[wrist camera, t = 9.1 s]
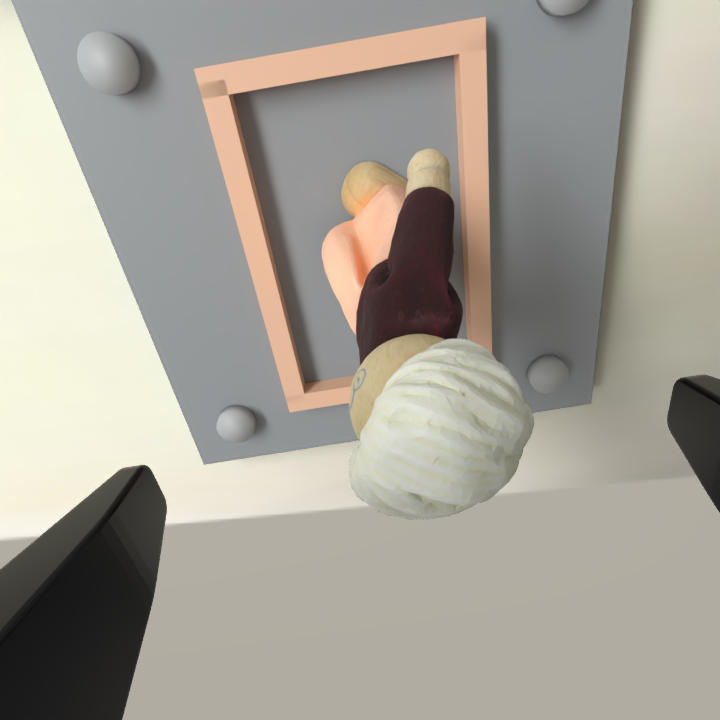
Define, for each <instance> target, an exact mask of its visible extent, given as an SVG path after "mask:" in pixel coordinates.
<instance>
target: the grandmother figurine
mask: <svg viewBox="0 0 720 720" xmlns="http://www.w3.org/2000/svg"><path fill="white" fill-rule="evenodd" d="M407 178H408V181H407V180H406V179H404V178H403V177H401V176H399V175H398V174H396V173H394V172H393V171H391V170H390V169H388V168H386V167H384V166H383V165H381V164H378V163H376V162H371V161H368V162H362V163H359V164H357V165H355V166H354V167H353V168H352V169H351V170H350V171H349V172H348V174H347V175H346V177H345V180H344V183H343V186H342V189H341V199H342V203H343V205H344V208H345V209H346V211H347V212H348V213H349V214H350V215H351V216H353V217H355V218H354V219H353V220H350V221H347V222H344V223H341V224H339V225H337V226H335V227H334V228H333V229H331V230H330V231H329V233H328V234H327V236H326V238H325V240H324V242H323V244H322V260H323V264H324V269H325V273H326V275H327V277H328V280H329V283H330V285H331V288H332V290H333V292H334V294H335V295H336V297H337V299H338V301H339V303H340V304H341V307H342V310H343V312H344V315H345V317H346V319H347V321H348V323H349V325H350V327H351V329H352V330H353V332H354V333H355V334H356V340H357V344H358V347H359V356H360V367H359V368H358V370H357V372H356V374H355V376H354V379H353V382H352V385H351V389H350V396H349V413H350V419H351V423H352V426H353V428H354V431H355V433H356V436H357V438H358V439H359V441H360V446H359V447H358V448H357V449H355V450H354V451H353V453H352V455H351V457H350V460H349V477H350V482H351V486H352V489H353V491H354V492H355V494H356V495H357V497H359V498H360V499H361V500H362V501H364V502H366V503H367V504H369V505H370V506H371V507H372V508H374V509H375V510H377V511H378V512H381V513H384V514H386V515H390V516H396V517H399V518H404V519H433V518H440V517H446V516H450V515H453V514H456V513H459V512H461V511H464V510H466V509H468V508H470V507H472V506H473V505H475V504H477V503H481V502H484V501H487V500H489V499H490V498H492V497H493V496H494V495H495V494H496V493H497V492H498V491H499V490H500V489H501V488H502V487H504V486H505V485H506V484H507V483H508V482H509V481H510V479H511V478H512V477H513V475H514V474H515V472H516V470H517V467H518V464H519V460H520V458H521V456H522V453H523V448H524V446H525V445H526V443H527V441H528V439H529V438H530V436H531V433H532V430H533V426H534V417H533V414H532V412H531V410H530V408H529V407H528V405H527V404H525V401H524V398H523V395H522V392H521V389H520V386H519V384H518V382H517V381H516V380H515V379H514V377H513V376H512V374H511V373H510V371H509V370H508V368H506V367H505V366H504V365H503V364H501V363H499V362H498V361H497V360H496V359H495V357H494V356H493V355H492V354H491V353H490V352H489V350H487V349H486V348H484V347H483V346H481V345H479V344H476V343H474V342H472V341H470V340H466V339H457V336H458V333H459V330H460V326H461V322H462V317H463V307H462V302H461V300H460V298H459V296H458V294H457V292H456V290H455V289H454V287H453V286H452V284H451V283H450V282H449V277H450V273H451V268H452V262H453V255H454V245H453V226H454V208H455V206H454V201H453V200H452V198H451V185H450V182H449V178H450V164H449V161H448V159H447V157H446V156H445V155H444V154H443V153H441V152H440V151H438V150H436V149H430V148H427V149H424V150H421V151H419V152H417V153H416V154H415V155H414V156H413V157H412V159H411V160H410V162H409V165H408V168H407Z"/></svg>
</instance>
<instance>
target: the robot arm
mask: <svg viewBox="0 0 720 720" xmlns="http://www.w3.org/2000/svg"><path fill="white" fill-rule="evenodd" d="M667 422H668V427H669V430H670V432H671V434H672V436H673V437H674V439H675V441H676V442H677V444H678V445H679V447H680V449H681V450H682V452H683V454H684V455H685V457H686V459H687V460H688V462H689V464H690V465H691V467H692V469H693V470H694V472H695V474H696V475H697V477H698V479H699V480H700V482H701V484H702V485H703V487H704V489H705V490H706V492H707V494H708V495H709V496H710V498H711V500H712V502H713V503H714V505H715V506H716V508H717V509H718V511H719V512H720V379H717V378H714V377H711V376H708V375H696V376H690V377H684V378H680V379H678V380H677V381H676V382H675V384H674V387H673V392H672V396H671V401H670V406H669V411H668V416H667ZM166 513H167V505H166V500H165V497H164V495H163V493H162V491H161V489H160V487H159V485H158V483H157V481H156V479H155V477H154V475H153V473H152V471H151V469H150V468H149V467H148V466H146V465H138V466H132V467H126V468H122V469H120V470H119V471H118V472H117V473H115V474H114V475H113V476H112V477H111V478H109V479H108V480H107V481H106V482H105V483H103V484H102V485H101V486H100V487H99V488H97V489H96V490H95V491H94V492H93V493H91V494H90V495H89V496H88V497H87V498H85V499H84V500H83V501H82V502H81V503H79V504H78V505H77V506H76V507H75V508H73V509H72V510H71V511H70V512H69V513H67V514H66V515H65V516H64V517H63V518H61V519H60V520H59V521H58V522H57V523H55V524H54V525H53V526H52V527H51V528H49V529H48V530H47V531H46V532H45V533H43V534H42V535H41V536H40V537H39V538H37V539H36V540H35V541H34V542H33V543H31V544H30V545H29V546H28V547H27V548H25V549H24V550H23V551H22V552H21V553H19V554H18V555H17V556H16V557H15V558H13V559H12V560H11V561H10V562H9V563H7V564H6V565H5V566H4V567H3V568H1V569H0V720H122V718H123V714H124V710H125V707H126V703H127V698H128V695H129V691H130V687H131V684H132V679H133V676H134V672H135V668H136V664H137V660H138V657H139V653H140V649H141V645H142V641H143V637H144V634H145V629H146V625H147V621H148V618H149V614H150V610H151V606H152V602H153V597H154V592H155V587H156V581H157V574H158V567H159V560H160V554H161V547H162V540H163V533H164V527H165V520H166Z"/></svg>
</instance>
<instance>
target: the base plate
mask: <svg viewBox="0 0 720 720" xmlns="http://www.w3.org/2000/svg"><path fill="white" fill-rule="evenodd" d="M11 1H12V3H13V5H14V8H15V10H16V13H17V15H18V17H19V20H20V22H21V25H22V27H23V30H24V32H25V34H26V37H27V39H28V42H29V44H30V46H31V49H32V51H33V54H34V56H35V58H36V61H37V63H38V66H39V68H40V70H41V73H42V75H43V78H44V80H45V83H46V85H47V87H48V90H49V92H50V95H51V97H52V99H53V102H54V104H55V107H56V109H57V111H58V114H59V116H60V119H61V121H62V123H63V126H64V128H65V131H66V133H67V135H68V138H69V140H70V143H71V145H72V148H73V150H74V152H75V155H76V157H77V160H78V162H79V164H80V167H81V169H82V172H83V174H84V176H85V179H86V181H87V184H88V186H89V188H90V191H91V193H92V196H93V198H94V201H95V203H96V205H97V208H98V210H99V213H100V215H101V217H102V220H103V222H104V225H105V227H106V229H107V232H108V234H109V237H110V239H111V241H112V244H113V246H114V249H115V251H116V253H117V256H118V258H119V261H120V263H121V266H122V268H123V270H124V273H125V275H126V278H127V280H128V282H129V285H130V287H131V290H132V292H133V294H134V297H135V299H136V302H137V304H138V306H139V309H140V311H141V314H142V316H143V319H144V321H145V323H146V326H147V328H148V331H149V333H150V335H151V338H152V340H153V343H154V345H155V347H156V350H157V352H158V355H159V357H160V359H161V362H162V364H163V367H164V369H165V371H166V374H167V376H168V379H169V381H170V384H171V386H172V388H173V391H174V393H175V396H176V398H177V400H178V403H179V405H180V408H181V410H182V412H183V415H184V417H185V420H186V422H187V424H188V427H189V429H190V432H191V434H192V437H193V439H194V441H195V444H196V446H197V449H198V451H199V453H200V456H201V458H202V461H203V463H204V465H205V464H211V463H217V462H224V461H230V460H236V459H243V458H249V457H255V456H262V455H268V454H274V453H281V452H287V451H293V450H300V449H306V448H312V447H319V446H325V445H331V444H338V443H344V442H350V441H356V440H359V439H358V438H357V436H356V433H355V431H354V428H353V426H352V423H351V419H350V413H349V396H350V389H351V385H352V382H353V379H354V376H355V374H356V372H357V370H358V368H359V367H360V356H359V347H358V344H357V340H356V334H355V333H354V332H353V330H352V329H351V327H350V325H349V323H348V321H347V319H346V317H345V315H344V312H343V310H342V307H341V304H340V303H339V301H338V299H337V297H336V295H335V294H334V292H333V290H332V288H331V285H330V283H329V280H328V277H327V275H326V273H325V269H324V264H323V260H322V244H323V242H324V240H325V238H326V236H327V234H328V233H329V231H330V230H331V229H333V228H334V227H335V226H337V225H339V224H341V223H344V222H347V221H350V220H353V219H354V218H355V217H353V216H351V215H350V214H349V213H348V212H347V211H346V209H345V208H344V205H343V203H342V199H341V189H342V186H343V183H344V180H345V177H346V175H347V174H348V172H349V171H350V170H351V169H352V168H353V167H354V166H355V165H357V164H359V163H362V162H368V161H371V162H376V163H378V164H381V165H383V166H384V167H386V168H388V169H390V170H391V171H393V172H394V173H396V174H398V175H399V176H401V177H403V178H404V179H406V180H407V181H408V178H407V168H408V165H409V162H410V160H411V159H412V157H413V156H414V155H415V154H416V153H417V152H419V151H421V150H424V149H427V148H430V149H436V150H438V151H440V152H441V153H443V154H444V155H445V156H446V157H447V159H448V161H449V164H450V178H449V182H450V185H451V198H452V200H453V201H454V206H455V208H454V226H453V245H454V255H453V262H452V268H451V273H450V277H449V282H450V283H451V284H452V286H453V287H454V289H455V290H456V292H457V294H458V296H459V298H460V300H461V302H462V307H463V317H462V322H461V326H460V330H459V333H458V336H457V339H466V340H470V341H472V342H474V343H476V344H479V345H481V346H483V347H484V348H486V349H487V350H489V352H490V353H491V354H492V355H493V356H494V357H495V359H496V360H497V361H498V362H499V363H501V364H503V365H504V366H505V367H506V368H508V370H509V371H510V373H511V374H512V376H513V377H514V379H515V380H516V381H517V382H518V384H519V386H520V389H521V392H522V395H523V398H524V401H525V404H527V405H528V407H529V408H530V410H531V412H532V413H534V412H540V411H546V410H553V409H559V408H565V407H572V406H578V405H584V404H591V399H592V389H593V380H594V370H595V361H596V351H597V341H598V332H599V322H600V313H601V303H602V293H603V284H604V274H605V265H606V255H607V245H608V236H609V226H610V216H611V207H612V197H613V188H614V178H615V168H616V159H617V149H618V140H619V130H620V120H621V111H622V101H623V92H624V82H625V72H626V63H627V53H628V44H629V34H630V24H631V15H632V5H633V0H11Z"/></svg>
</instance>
